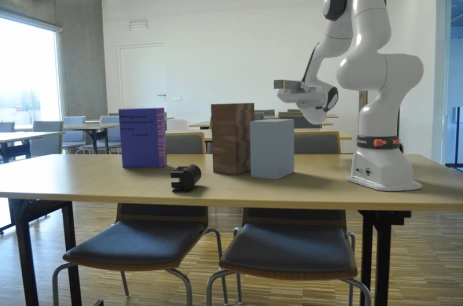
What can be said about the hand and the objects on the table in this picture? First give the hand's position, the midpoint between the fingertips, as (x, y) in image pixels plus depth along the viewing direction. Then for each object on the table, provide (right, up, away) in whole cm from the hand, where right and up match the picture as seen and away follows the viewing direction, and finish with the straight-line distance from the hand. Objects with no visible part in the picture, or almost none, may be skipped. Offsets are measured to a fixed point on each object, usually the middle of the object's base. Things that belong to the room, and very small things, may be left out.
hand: (295, 84), depth 139 cm
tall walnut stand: (-24, -33, -4) cm, 41 cm away
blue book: (-61, -33, +10) cm, 69 cm away
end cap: (-38, -38, -29) cm, 61 cm away
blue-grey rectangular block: (-10, -34, -12) cm, 38 cm away
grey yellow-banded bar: (-3, -3, -4) cm, 6 cm away
